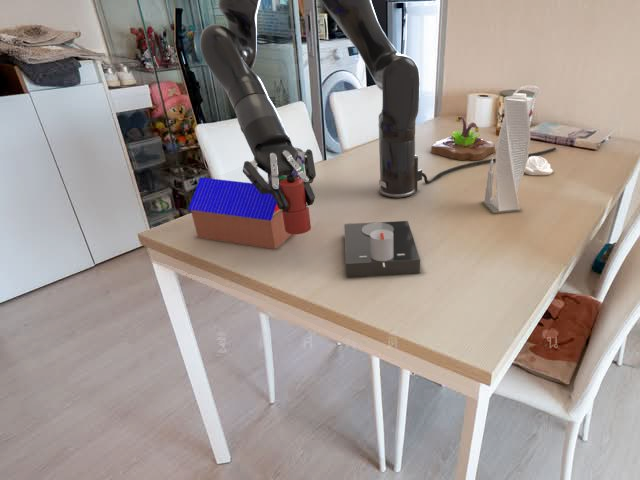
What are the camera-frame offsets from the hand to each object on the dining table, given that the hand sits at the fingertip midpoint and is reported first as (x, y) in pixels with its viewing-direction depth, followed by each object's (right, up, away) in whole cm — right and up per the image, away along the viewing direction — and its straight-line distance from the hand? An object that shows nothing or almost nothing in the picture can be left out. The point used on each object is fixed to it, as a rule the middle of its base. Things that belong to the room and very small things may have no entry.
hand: (299, 206), depth 85 cm
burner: (+14, -3, +12) cm, 19 cm away
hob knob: (+15, -9, +2) cm, 18 cm away
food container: (-9, +13, +41) cm, 44 cm away
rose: (+60, +21, +54) cm, 83 cm away
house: (-15, -2, +19) cm, 24 cm away
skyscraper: (+45, +6, +30) cm, 54 cm away
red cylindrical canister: (-1, -4, +4) cm, 6 cm away
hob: (+15, -8, +9) cm, 19 cm away
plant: (+40, +33, +72) cm, 89 cm away
